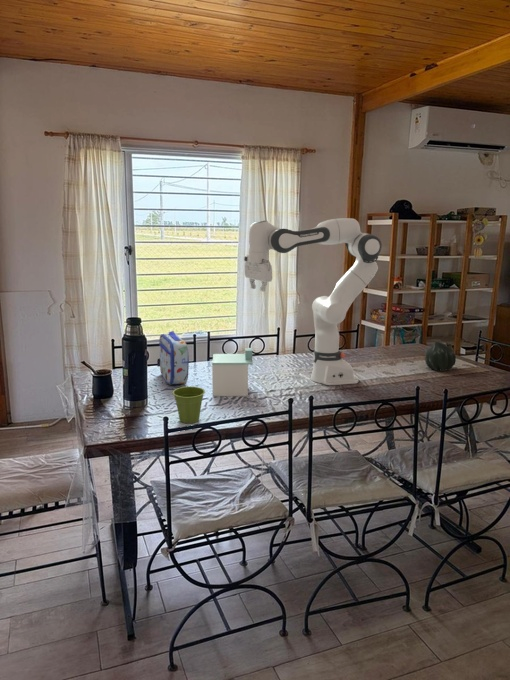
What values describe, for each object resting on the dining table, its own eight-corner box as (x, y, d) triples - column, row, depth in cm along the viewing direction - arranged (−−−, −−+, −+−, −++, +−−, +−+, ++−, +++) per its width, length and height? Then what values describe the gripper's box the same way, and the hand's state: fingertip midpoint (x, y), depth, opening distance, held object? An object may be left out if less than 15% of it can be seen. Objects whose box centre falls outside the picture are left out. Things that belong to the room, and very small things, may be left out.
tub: (246, 385, 229) (247, 355, 226) (247, 395, 215) (247, 364, 212) (213, 385, 228) (213, 355, 225) (212, 396, 215) (212, 364, 211)
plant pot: (167, 423, 185) (166, 394, 182) (183, 412, 195) (182, 385, 193) (196, 428, 181) (195, 398, 178) (210, 416, 191) (210, 388, 189)
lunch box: (156, 372, 248) (154, 328, 243) (176, 370, 251) (175, 327, 247) (169, 389, 223) (167, 340, 218) (191, 386, 227) (190, 339, 222)
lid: (251, 355, 226) (251, 345, 225) (252, 364, 212) (252, 353, 211) (213, 355, 226) (213, 345, 224) (212, 364, 211) (212, 353, 210)
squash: (466, 361, 253) (450, 335, 259) (448, 366, 245) (432, 340, 250) (446, 373, 264) (432, 349, 269) (428, 379, 256) (413, 354, 261)
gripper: (276, 260, 213) (275, 292, 216) (254, 257, 231) (254, 287, 234) (263, 260, 211) (262, 293, 214) (242, 257, 228) (241, 287, 231)
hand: (257, 290), depth 224 cm, fingers open, 8 cm apart
